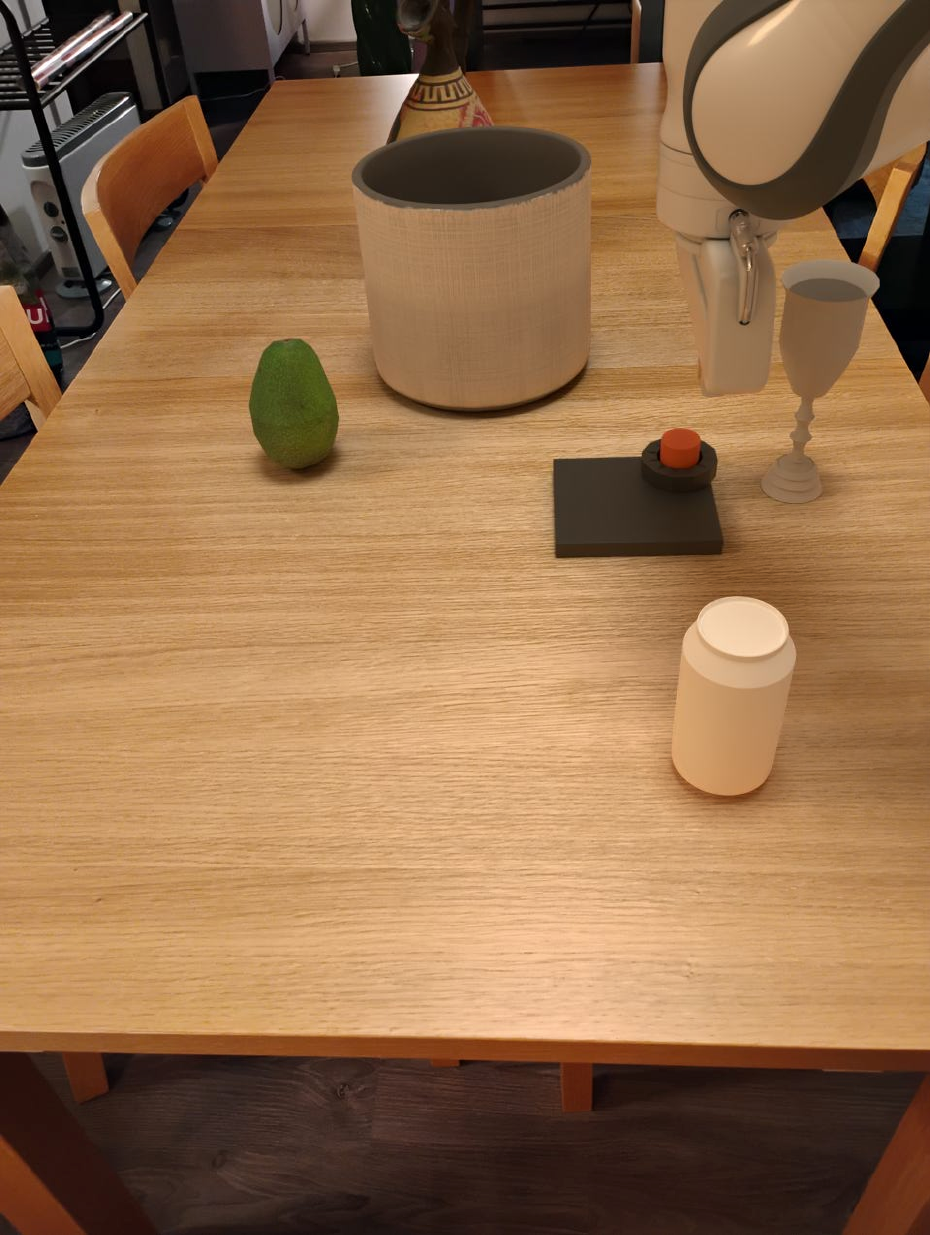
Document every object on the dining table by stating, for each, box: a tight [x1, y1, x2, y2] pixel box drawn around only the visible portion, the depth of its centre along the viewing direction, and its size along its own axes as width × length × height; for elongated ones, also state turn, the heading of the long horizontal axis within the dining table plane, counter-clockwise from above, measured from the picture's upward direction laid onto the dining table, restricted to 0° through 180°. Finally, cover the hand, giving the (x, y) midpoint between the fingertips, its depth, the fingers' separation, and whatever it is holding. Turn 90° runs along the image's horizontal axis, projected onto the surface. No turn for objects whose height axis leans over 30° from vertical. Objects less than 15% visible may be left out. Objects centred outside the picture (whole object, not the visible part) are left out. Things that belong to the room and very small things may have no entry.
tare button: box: [660, 428, 702, 469], centre depth 83 cm, size 3×3×2 cm
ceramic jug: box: [385, 0, 495, 145], centre depth 117 cm, size 17×15×30 cm
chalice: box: [760, 258, 880, 504], centre depth 78 cm, size 7×7×18 cm
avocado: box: [248, 338, 340, 470], centre depth 88 cm, size 8×8×12 cm
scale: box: [552, 438, 725, 558], centre depth 82 cm, size 14×12×3 cm
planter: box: [351, 125, 592, 413], centre depth 96 cm, size 22×22×20 cm
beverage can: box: [671, 595, 797, 796], centre depth 59 cm, size 6×6×12 cm
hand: (711, 386), depth 70 cm, fingers closed
